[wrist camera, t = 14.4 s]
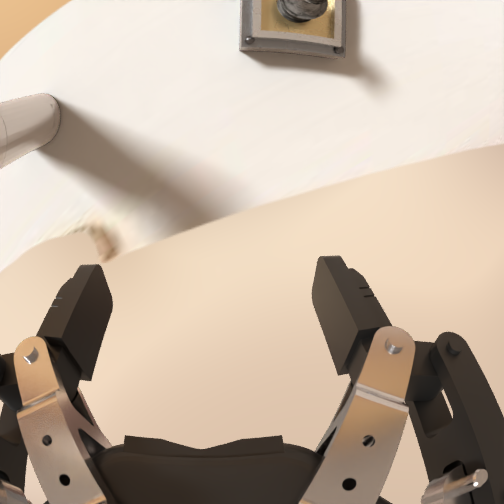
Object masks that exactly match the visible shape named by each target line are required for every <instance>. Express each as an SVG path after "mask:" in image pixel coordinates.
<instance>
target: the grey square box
mask: <svg viewBox="0 0 504 504" xmlns="http://www.w3.org/2000/svg"><path fill="white" fill-rule="evenodd" d="M277 1H278V0H241V3H240V43H239V51H267V52H282V53H293V54H302V55H311V56H318V57H325V58H331V59H338V58H345V42H346V0H327V2H328V6H327V10H326V11H325V13H324V14H323V15H322V16H320V17H318V18H316V19H311V20H310V21H307V22H303V23H296V22H292V21H289V20H287V19H286V18H284V17H283V16H282V15H281V14H280V12H279V11H278V8H277Z"/></svg>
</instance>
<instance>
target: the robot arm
mask: <svg viewBox="0 0 504 504" xmlns="http://www.w3.org/2000/svg"><path fill="white" fill-rule="evenodd" d="M59 124H60V110H59V106H58V104H57V102H56V100H55V99H54V98H53V97H52V96H50V95H48V94H45V93H41V94H35V95H30V96H25V97H21V98H17V99H13V100H9V101H5V102H1V103H0V169H2V168H3V167H5V166H7V165H8V164H10V163H12V162H13V161H15V160H17V159H19V158H20V157H22V156H24V155H26V154H28V153H29V152H31V151H33V150H35V149H37V148H39V147H41V146H43V145H45V144H47V143H48V142H50V141H51V140H52V139H53V137H54V136H55V135H56V133H57V131H58V128H59ZM312 301H313V305H314V308H315V311H316V314H317V316H318V319H319V322H320V325H321V327H322V330H323V333H324V336H325V339H326V342H327V344H328V347H329V350H330V353H331V356H332V359H333V362H334V365H335V368H336V370H337V374H338V375H343V374H348V373H349V375H350V378H351V381H350V383H349V385H348V387H347V390H346V392H345V394H344V396H343V399H342V401H341V403H340V405H339V408H338V410H337V412H336V414H335V416H334V418H333V420H332V422H331V424H330V426H329V428H328V430H327V431H326V433H325V434H324V436H323V438H322V439H321V441H320V443H319V445H318V446H317V448H316V450H315V452H314V451H312V450H310V449H307V448H304V447H301V446H297V445H292V444H286V443H283V439H282V435H280V436H272V437H262V438H250V439H241V440H237V441H234V442H230V443H227V444H223V445H219V446H215V447H211V448H207V449H195V448H191V447H187V446H184V445H180V444H176V443H173V442H169V441H166V440H163V439H154V438H144V437H135V436H126V435H125V439H124V444H121V445H116V446H112V445H111V443H110V442H109V441H108V439H107V438H106V437H105V436H104V434H103V433H102V432H101V430H100V429H99V427H98V425H97V423H96V421H95V419H94V417H93V415H92V413H91V411H90V409H89V407H88V405H87V403H86V401H85V399H84V397H83V394H82V392H81V390H80V388H79V387H78V384H79V381H80V380H86V381H91V379H92V375H93V371H94V368H95V364H96V361H97V357H98V354H99V350H100V347H101V343H102V340H103V337H104V334H105V331H106V328H107V325H108V322H109V319H110V316H111V313H112V308H113V301H112V296H111V293H110V290H109V287H108V285H107V282H106V279H105V276H104V273H103V270H102V268H101V266H100V265H99V264H96V265H81V266H80V267H79V268H78V270H77V272H76V273H75V275H74V277H73V278H70V279H69V280H68V281H67V282H66V283H65V284H64V285H63V286H62V287H61V288H60V290H59V292H58V294H57V296H56V299H54V301H53V303H52V307H50V309H49V311H48V313H47V315H46V317H45V318H44V321H43V323H42V325H41V327H40V329H39V331H38V333H37V335H36V336H35V337H29V338H27V339H25V340H23V341H22V342H21V343H20V344H19V345H18V347H17V348H16V350H15V353H10V354H5V355H1V354H0V400H2V402H3V403H4V404H3V408H2V412H1V416H0V504H32V503H31V502H30V501H29V500H27V499H26V497H25V495H24V486H25V474H26V464H27V456H28V455H29V457H30V460H31V463H32V465H33V468H34V470H35V473H36V475H37V478H38V480H39V482H40V485H41V487H42V489H43V491H44V493H45V495H46V497H47V501H46V502H45V503H44V504H392V503H390V502H389V501H387V500H385V499H384V498H382V497H381V496H379V495H380V493H381V490H382V488H383V486H384V483H385V481H386V478H387V476H388V474H389V471H390V468H391V466H392V463H393V460H394V457H395V455H396V452H397V449H398V445H399V443H400V440H401V437H402V433H403V430H404V427H405V423H406V420H407V416H408V412H409V415H410V418H411V421H412V424H413V427H414V430H415V433H416V437H417V439H418V443H419V446H420V449H421V453H422V457H423V460H424V464H425V467H426V471H427V475H428V479H429V485H428V486H427V488H426V490H425V493H424V495H423V496H422V499H421V504H504V417H503V415H502V412H501V410H500V407H499V405H498V403H497V401H496V399H495V396H494V394H493V392H492V390H491V388H490V386H489V384H488V382H487V379H486V378H485V375H484V374H483V372H482V370H481V368H480V366H479V364H478V362H477V360H476V359H475V357H474V355H473V353H472V351H471V349H470V348H469V346H468V344H467V343H466V341H465V340H464V339H463V338H462V337H461V336H459V335H457V334H455V333H453V332H444V333H442V334H440V335H439V337H438V338H437V340H436V341H435V343H431V342H420V341H414V340H413V339H412V337H411V336H410V335H409V334H408V333H407V332H406V331H404V330H403V329H401V328H398V327H394V326H392V324H391V323H390V321H389V319H388V317H387V316H386V314H385V312H384V311H383V309H382V307H381V305H380V303H379V302H378V300H377V298H376V297H374V293H373V292H372V290H371V289H370V288H369V285H368V283H367V282H366V280H365V278H364V277H363V276H362V275H361V274H360V273H358V272H357V271H356V270H355V269H353V268H350V269H348V268H347V266H346V264H345V263H344V261H343V259H342V258H341V256H320V257H319V258H318V261H317V266H316V272H315V277H314V283H313V287H312ZM443 389H444V391H445V393H446V396H447V398H448V401H449V403H450V405H451V408H452V410H453V419H452V416H451V414H450V411H449V409H448V406H447V404H446V401H445V399H444V396H443V394H442V392H441V391H442V390H443ZM404 401H405V403H406V404H405V403H404Z"/></svg>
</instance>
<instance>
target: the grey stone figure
mask: <svg viewBox="0 0 504 504" xmlns="http://www.w3.org/2000/svg"><path fill="white" fill-rule="evenodd" d="M327 6H328V2H327V0H278V1H277V8H278V11H279V12H280V14H281V15H282V16H283V17H284V18H286V19H287V20H289V21H292V22H296V23H303V22H307V21H310V20H311V19H316V18H318V17H320V16H322V15H323V14H324V13H325V11H326V10H327Z"/></svg>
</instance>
